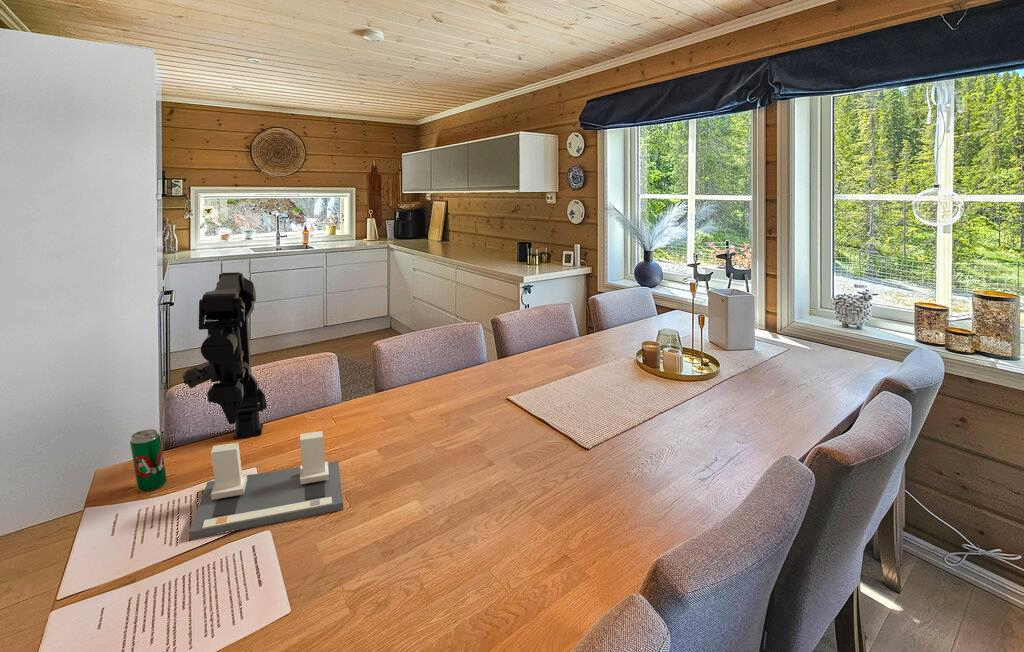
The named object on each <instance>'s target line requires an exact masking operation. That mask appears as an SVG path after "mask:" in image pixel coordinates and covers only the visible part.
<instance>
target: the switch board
mask: <svg viewBox="0 0 1024 652" xmlns="http://www.w3.org/2000/svg"><path fill="white" fill-rule="evenodd" d="M339 467H340V464H339V461H338V460H335V461H328V471H329V480H323V481H318V482H312V483H306V484H300V466H297V467H291V468H285V469H283V468H282V469H279V470H272V471H265V472H261V473H254V474H252V473H251V474H247V483H246V487H245V492H244V494H242V495H236V496H231V497H225V498H219V499H213V500H212V499H211V493H212V490H213V487H214V484H215V480H210V481H209V480H208V481H207V482H206V485H205V487H204V491H203V492H202V496H201V497H200V498H201V499H200V501H199V503H198V506H197V509H196V512H195V514H194V517H193V520H192V523H191V525H190V528H189V531H188V536H189V540H194V539H200V538H199V537H201V538H205V537H210V536H209V535H211V536H214V535H213V534H216V535H218V534H217V533H221V532H226V531H231V532H233V531H232V530H237V529H239V530H237V531H241V530H246V529H251V528H257V527H261V526H266V525H272V524H276V523H277V524H278V523H281V522H286V521H287V522H288V521H291V520H298V519H303V518H308V517H313V516H317V515H323V514H328V513H333V512H337V511H344V501H343V493H342V492H343V491H342V485H341V475H340V474H341V473H340V468H339ZM226 533H227V532H226ZM221 534H222V533H221Z"/></svg>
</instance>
